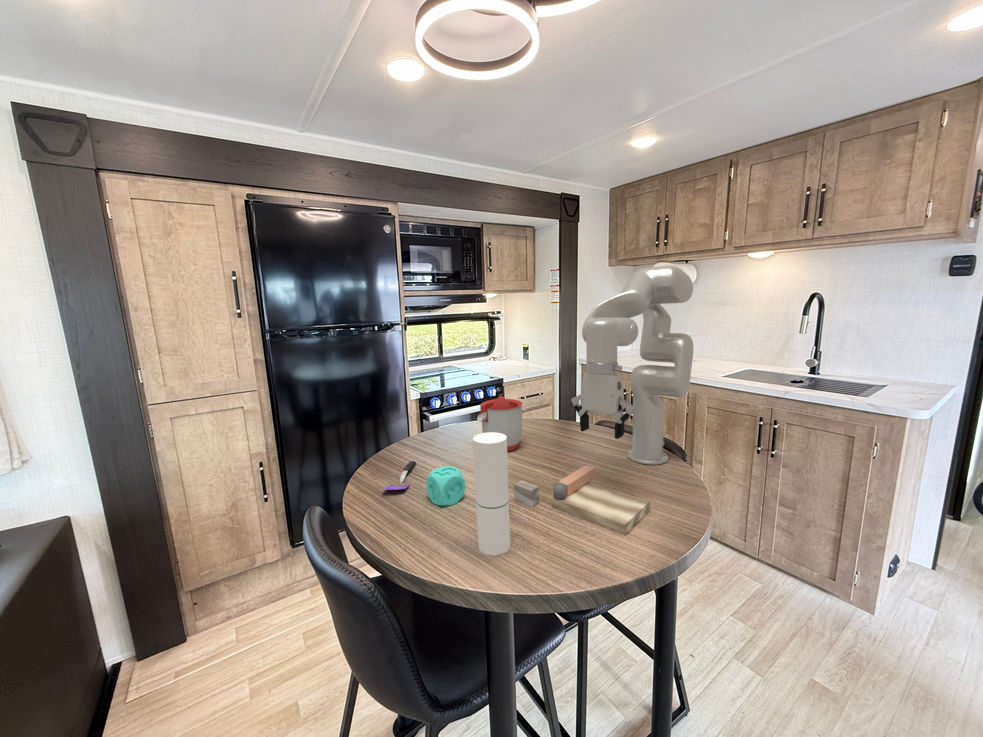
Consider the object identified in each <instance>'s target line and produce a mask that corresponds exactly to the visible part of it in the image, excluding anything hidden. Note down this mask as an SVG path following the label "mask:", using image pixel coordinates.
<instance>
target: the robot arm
mask: <svg viewBox="0 0 983 737" xmlns="http://www.w3.org/2000/svg"><path fill="white" fill-rule="evenodd" d="M693 293H694V283H693V281H692V279H691V277H690V276H689V274H687V273H686V272H685V271H684V270H683V269H681V268H679V267H678V266H675V265H662V266H661V265H660V266H653V267H652V266H651V267H642V268H639V269H638V270H636V271H635V272H633V273H632V275H630V278H629V279H628V281H627V282H626V284H625V285H624V287H623V288H622V290H621V291H620V293H617V294H615V295H614V296H612V297H610V298H608V299H606V300H604V301H602V302H600V303H599V304H598V305H596V306H595V307H594V308H592V310H591V311H590V312H589V313H588V315H587V317H586V318H585V321H584V322H583V325H582V327H581V328H582V329H581V335H582V339H583V341H584V342H585V344H586V359H585V360H586V370H585V371H586V372H585V373H583V374H584V375H583V379H582V384H581V394H578V395H576V396H574V397H572V398H571V403H572V405H573V408H574V410H575V411H576V413H577V415H578V417H579V427H580V431H581V432H585V431H587V430H589V429H590V415H589V414H588V413H589V412H591V413H595V414H601V415H603V414H604V415H609V416H612V417H613V419H615V421H616V422H615V424H614V438H615V439H616V440H618V439H621V438H622V437H623V436H624V434H625V422H626V421H628V419H630V418H631V417H632V449H629V450H628V451H627V458H628V459H629V458H630V459H629V460H631V461H633V462H635V463H639V464H643V465H653V466H654V465H663V464H665V463H667V462H668V460H669V456H668V454H667V453H665V452H664V445H665V441H664V430H665V429H664V425H665V423H664V422H665V407H664V404H663V402H662V401H661V398H660V397H659V396H661V397H663V396H664V397H670V398H682V397H685V396H686V395H687V394H688V391H689V389H690V384H691V383H690V382H691V374H692V366H693V359H694V342H693V339H692V337H691V336H690V335H689V334H687V333H681V332H671V327H672V326H671V325H672V318H671V316H670V314H669V313H668V311H667V310H666V309H665V308H664V307H663V306H662V305H664V304H665V305H666V304H667V305H668V304H683V303H687V302H688V301H689V300H690V299H691V298H692V296H693ZM661 304H662V305H661ZM639 315H642V316H643V317H642V318H643V319H642V320H643V323H642V324H643V325H642V330H641V331H642V332H641V337H640V344H639V356H640V358H641V359H642V360H645V361H648V362H653V363H654V362H655V363H656V362H657V363H670V364H674V366H670V365H669V366H667V365H657V364H641V365H638V366H636V367H634V368H633V369H632V371H631V372H630V386H631V391H632V403H630V402H629V401H627V400H626V399H625V396H624V386H623V380H622V376H621V374H620V373H618V372H622V370H623V366H622V365H619V361H618V347H627V346H630V345H633V343H635V342H636V341H637V338H638V335H639V327H638V324H637V322H636V321H635V320H634V319H632V318H634V317H637V316H639ZM624 409H626V411H625V413H623V411H624Z"/></svg>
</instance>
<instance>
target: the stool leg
mask: <svg viewBox="0 0 983 737" xmlns="http://www.w3.org/2000/svg"><path fill="white" fill-rule="evenodd" d="M595 469H596V468H595V467H593V466H590V465H583V466H582V467H580V468H578V469H576V470H575V471H574V472H572V473H569V475H567V476H566V477H564V478H562V479H561V480H559V481H558V482H555V483H554V484H553V485H552V486H553V488H552V489H553V497H554V498H556V499H564V498H566V495H567V496H568V495H570V494H571V493H573V492H574V491H576V490H577V489H579V488H580V487H582V486H583V485H585V484H586V483H588V482H591V481H592V480H594V479H595V478H596V474H595V472H596V471H595Z"/></svg>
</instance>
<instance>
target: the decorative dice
mask: <svg viewBox="0 0 983 737" xmlns="http://www.w3.org/2000/svg"><path fill="white" fill-rule="evenodd" d="M465 481H466V480H465V477H464V475H463V473H462V472H461V470H460V469H458V468H457V467H454V466H441V467H437V468H434V469H432V470H431V472H430V473H429V474H428V476H427V479H426V481H425V488H426V492H427V495H428V497H429V499H430V501H431V502H432V503H433V504H435V505H437V506H440V507H446V506H447V507H448V506H451V505H452V506H453V505H455V504H457V503H458V502H460V500H461V499H462V498H463V497H464V494H465V491H466V482H465Z"/></svg>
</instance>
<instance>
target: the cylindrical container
mask: <svg viewBox="0 0 983 737" xmlns="http://www.w3.org/2000/svg"><path fill="white" fill-rule="evenodd" d="M472 441H473V442H472V444H473V445H472V446H473V461H474V462H473V463H474V464H473V465H474V466H473V467H474V468H473V469H474V483H475V485H474V486H475V487H474V488H475V501H476V502H475V503H476V504H475V505H476V524H477V525H476V526H477V542H478V545H477V547H478V550H479V551H480V552H481V553H482V554H484V555H487V556H491V557H492V556H500V555H503V554H505V553H507V552H508V551H509V550H510V549H511V526H510V525H511V522H510V521H511V519H510V514H509V509H510V494H509V489H510V488H509V489H508V485H509V468H508V466H509V465H508V451H507V437H506V435H504V434H502V433H496V432H488V433H483V432H482V433H479V434H476V435H474V436H473V438H472Z"/></svg>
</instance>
